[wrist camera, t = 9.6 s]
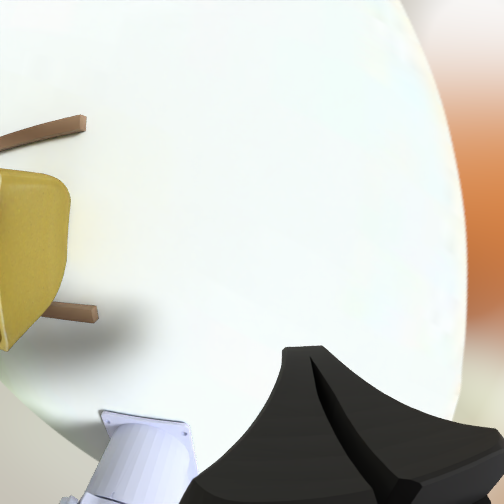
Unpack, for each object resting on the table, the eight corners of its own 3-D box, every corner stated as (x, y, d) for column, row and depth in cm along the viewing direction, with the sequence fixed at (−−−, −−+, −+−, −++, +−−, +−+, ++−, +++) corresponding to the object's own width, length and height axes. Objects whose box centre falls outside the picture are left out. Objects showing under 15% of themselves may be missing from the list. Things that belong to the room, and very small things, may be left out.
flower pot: (6, 268, 19) (-71, 304, 10) (11, 160, 17) (-77, 162, 8) (87, 295, 19) (8, 356, 10) (97, 169, 17) (0, 168, 9)
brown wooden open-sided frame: (98, 318, 20) (93, 323, 19) (-16, 302, 20) (-21, 305, 19) (86, 116, 16) (80, 114, 16) (-30, 150, 17) (-36, 150, 16)
